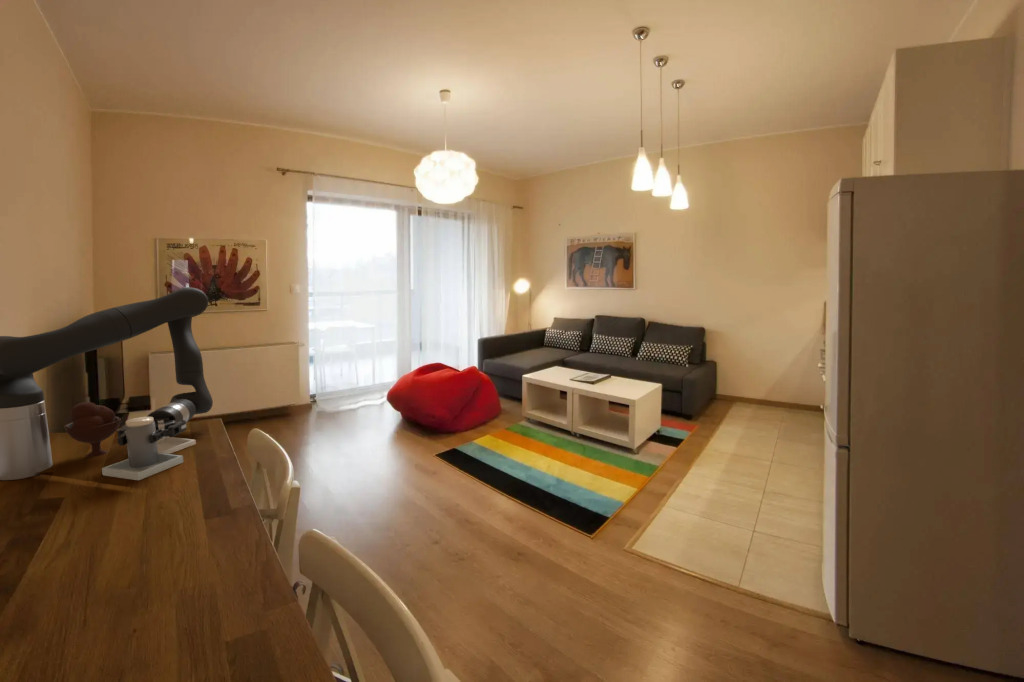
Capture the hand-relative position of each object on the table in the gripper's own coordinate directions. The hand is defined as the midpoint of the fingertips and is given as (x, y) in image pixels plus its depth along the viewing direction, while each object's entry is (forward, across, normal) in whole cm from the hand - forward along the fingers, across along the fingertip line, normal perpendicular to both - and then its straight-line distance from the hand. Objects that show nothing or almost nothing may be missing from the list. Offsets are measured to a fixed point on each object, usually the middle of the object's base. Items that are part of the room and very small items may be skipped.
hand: (136, 440), depth 107 cm
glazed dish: (-2, 0, +9) cm, 9 cm away
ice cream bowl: (-17, -17, +9) cm, 25 cm away
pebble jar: (-3, 0, +7) cm, 7 cm away
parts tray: (-17, -2, +9) cm, 19 cm away
